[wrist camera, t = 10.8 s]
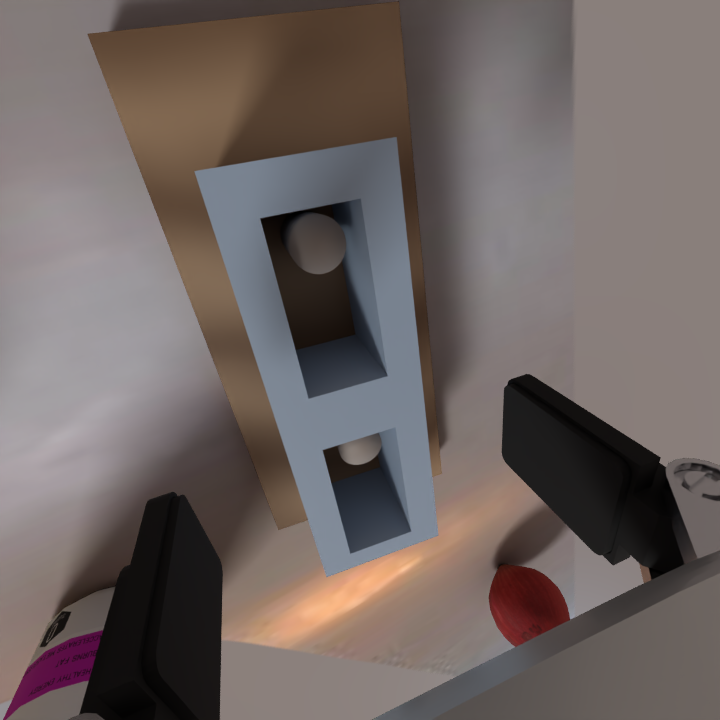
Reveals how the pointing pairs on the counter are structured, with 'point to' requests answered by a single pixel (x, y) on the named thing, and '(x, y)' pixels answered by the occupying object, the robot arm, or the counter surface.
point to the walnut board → (258, 142)
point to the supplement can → (62, 662)
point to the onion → (525, 603)
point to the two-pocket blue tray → (337, 343)
